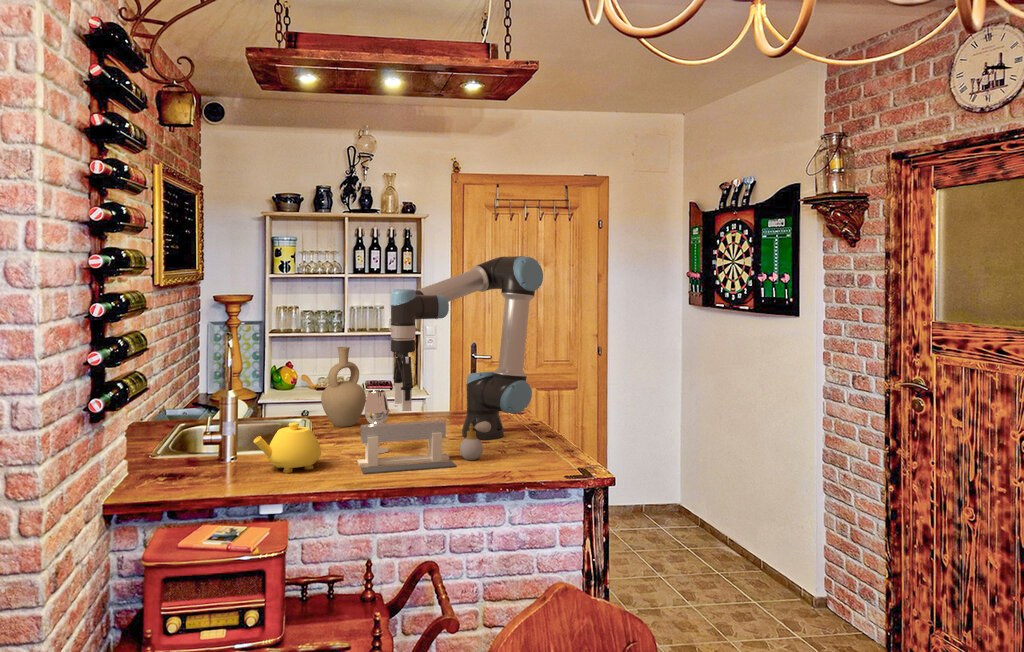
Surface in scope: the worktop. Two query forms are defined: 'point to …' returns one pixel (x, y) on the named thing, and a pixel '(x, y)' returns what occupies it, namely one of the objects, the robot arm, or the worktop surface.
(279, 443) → the teapot
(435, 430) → the rail
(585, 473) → the worktop surface
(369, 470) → the mat
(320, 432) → the worktop surface
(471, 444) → the perfume bottle
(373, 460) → the rack
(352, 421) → the vase
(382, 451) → the wineglass
